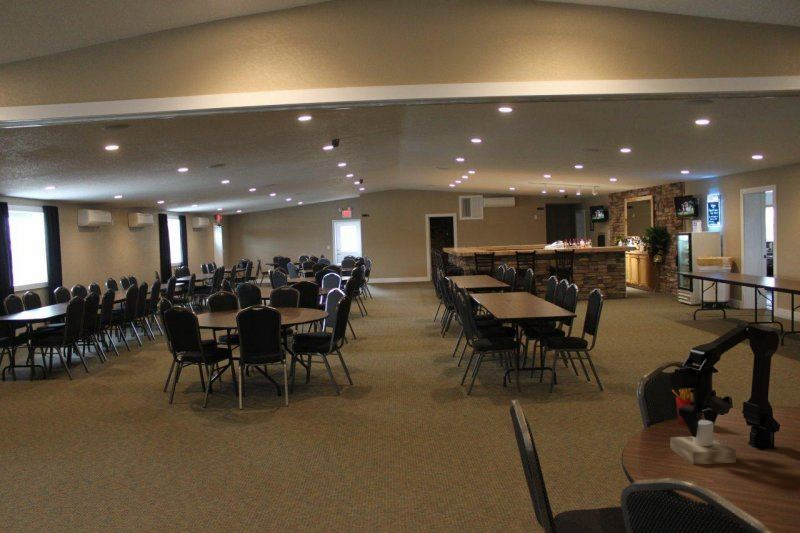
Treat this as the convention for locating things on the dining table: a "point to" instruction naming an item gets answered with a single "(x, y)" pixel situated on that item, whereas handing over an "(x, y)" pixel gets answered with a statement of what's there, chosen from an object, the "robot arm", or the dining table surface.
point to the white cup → (704, 433)
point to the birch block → (702, 451)
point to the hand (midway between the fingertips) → (702, 434)
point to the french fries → (683, 401)
